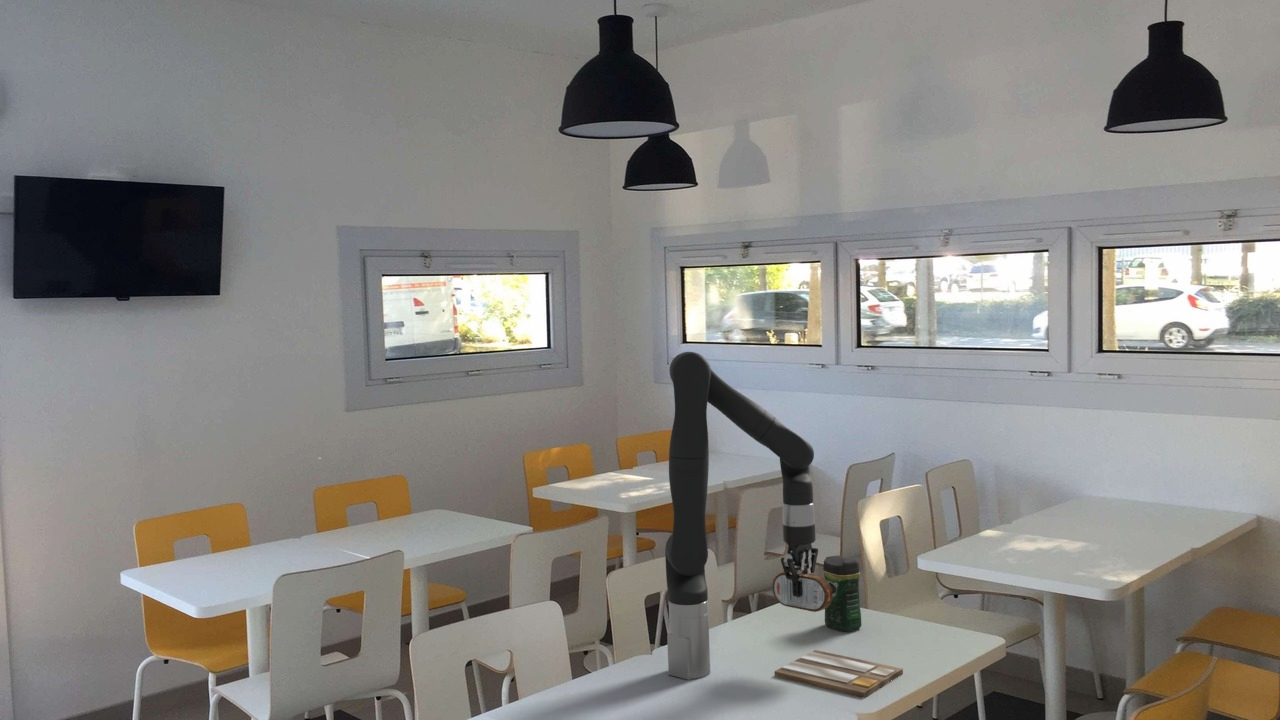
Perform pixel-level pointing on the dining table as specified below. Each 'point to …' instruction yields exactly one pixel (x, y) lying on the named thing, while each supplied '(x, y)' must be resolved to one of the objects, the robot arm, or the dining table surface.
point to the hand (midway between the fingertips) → (801, 594)
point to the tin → (803, 592)
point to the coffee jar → (843, 593)
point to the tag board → (839, 673)
